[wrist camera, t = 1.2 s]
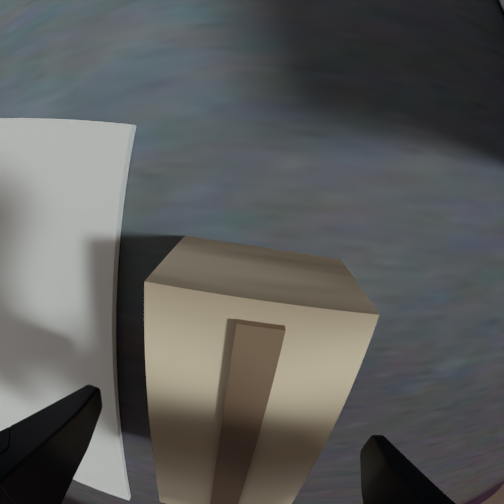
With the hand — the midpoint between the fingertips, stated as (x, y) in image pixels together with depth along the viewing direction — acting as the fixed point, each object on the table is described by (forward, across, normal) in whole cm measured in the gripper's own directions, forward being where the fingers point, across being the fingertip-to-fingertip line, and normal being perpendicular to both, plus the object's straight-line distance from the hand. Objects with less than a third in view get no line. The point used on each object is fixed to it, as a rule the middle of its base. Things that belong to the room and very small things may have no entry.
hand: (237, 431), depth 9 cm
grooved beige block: (+3, 0, 0) cm, 3 cm away
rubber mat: (+3, +13, +3) cm, 14 cm away
